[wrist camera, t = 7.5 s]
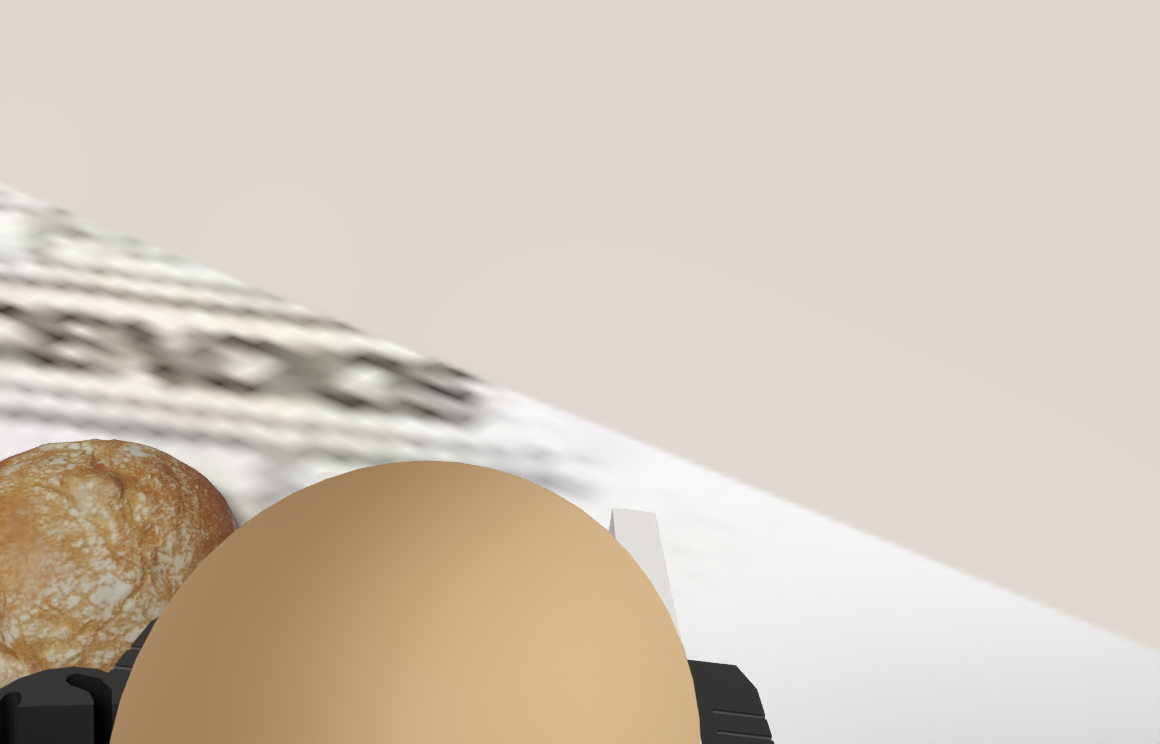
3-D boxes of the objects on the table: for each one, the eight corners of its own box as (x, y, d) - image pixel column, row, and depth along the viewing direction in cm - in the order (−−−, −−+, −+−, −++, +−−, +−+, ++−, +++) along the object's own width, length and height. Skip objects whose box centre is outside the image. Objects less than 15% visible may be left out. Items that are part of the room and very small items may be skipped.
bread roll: (176, 782, 31) (225, 773, 25) (-184, 749, 27) (-231, 729, 20) (244, 512, 36) (300, 448, 30) (-52, 446, 31) (-59, 356, 25)
